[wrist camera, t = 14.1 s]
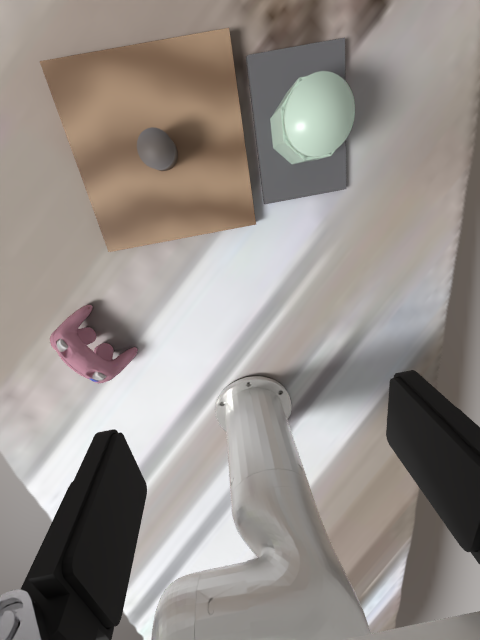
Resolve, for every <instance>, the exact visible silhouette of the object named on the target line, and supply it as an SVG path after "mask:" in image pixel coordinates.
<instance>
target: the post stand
mask: <svg viewBox="0 0 480 640" xmlns="http://www.w3.org/2000/svg"><path fill="white" fill-rule="evenodd" d="M40 64H41V66H42V69H43V72H44V75H45V77H46V80H47V83H48V86H49V88H50V91H51V94H52V97H53V99H54V102H55V105H56V108H57V111H58V113H59V116H60V119H61V122H62V124H63V127H64V130H65V133H66V135H67V138H68V141H69V144H70V146H71V149H72V152H73V155H74V158H75V160H76V163H77V166H78V169H79V171H80V174H81V177H82V180H83V182H84V185H85V188H86V191H87V193H88V196H89V199H90V202H91V204H92V207H93V210H94V213H95V216H96V218H97V221H98V224H99V227H100V229H101V232H102V235H103V238H104V240H105V243H106V246H107V249H108V251H109V252H112V251H117V250H123V249H128V248H133V247H139V246H144V245H149V244H154V243H160V242H165V241H170V240H176V239H181V238H186V237H192V236H197V235H202V234H208V233H213V232H218V231H223V230H229V229H234V228H239V227H245V226H250V225H255V224H256V220H255V213H254V206H253V199H252V191H251V184H250V177H249V169H248V162H247V155H246V148H245V140H244V133H243V126H242V119H241V111H240V104H239V97H238V90H237V82H236V75H235V68H234V60H233V53H232V46H231V39H230V31H229V28H225V29H220V30H214V31H208V32H203V33H197V34H191V35H186V36H180V37H174V38H169V39H163V40H157V41H152V42H146V43H140V44H135V45H129V46H124V47H118V48H112V49H107V50H101V51H95V52H90V53H84V54H78V55H73V56H67V57H61V58H56V59H50V60H44V61H40Z"/></svg>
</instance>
